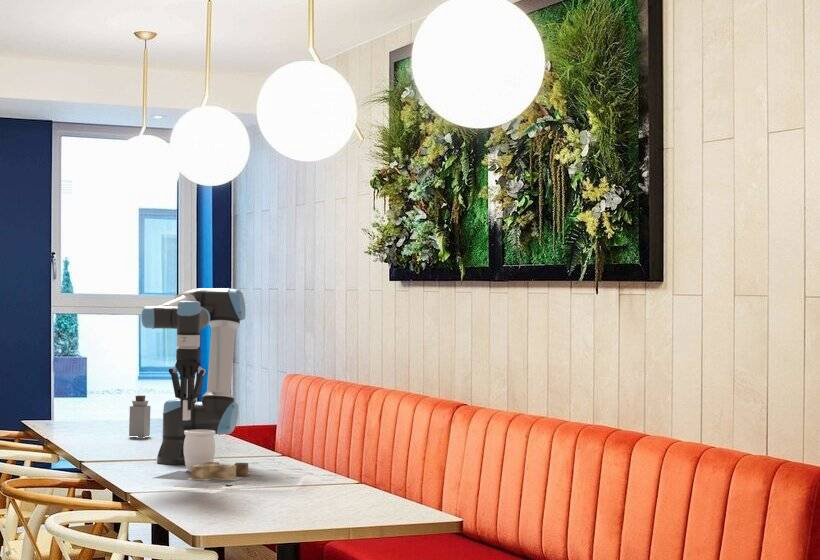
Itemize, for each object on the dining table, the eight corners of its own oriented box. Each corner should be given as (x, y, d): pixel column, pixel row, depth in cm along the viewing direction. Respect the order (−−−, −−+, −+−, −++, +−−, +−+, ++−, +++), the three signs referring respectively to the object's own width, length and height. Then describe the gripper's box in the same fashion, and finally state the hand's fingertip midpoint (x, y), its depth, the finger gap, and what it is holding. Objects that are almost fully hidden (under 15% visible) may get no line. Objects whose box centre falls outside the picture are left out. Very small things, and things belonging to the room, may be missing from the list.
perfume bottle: (134, 436, 488) (136, 394, 488) (149, 436, 487) (150, 395, 487) (128, 437, 481) (130, 396, 482) (143, 438, 480) (144, 396, 481)
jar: (176, 476, 375) (177, 431, 375) (193, 472, 384) (194, 428, 385) (204, 478, 371) (205, 432, 371) (220, 474, 380) (221, 430, 381)
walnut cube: (234, 476, 365) (234, 464, 365) (236, 474, 369) (236, 462, 369) (246, 476, 365) (246, 464, 365) (248, 475, 369) (248, 462, 369)
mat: (152, 481, 358) (152, 477, 358) (178, 474, 375) (178, 470, 375) (229, 486, 351) (229, 482, 351) (252, 478, 368) (252, 475, 368)
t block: (191, 478, 358) (191, 466, 358) (207, 473, 369) (208, 461, 369) (225, 481, 354) (225, 468, 354) (241, 476, 366) (241, 463, 366)
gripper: (164, 347, 364) (163, 420, 364) (201, 348, 361) (199, 421, 360) (175, 347, 372) (173, 417, 371) (211, 348, 368) (209, 419, 368)
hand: (186, 419), depth 366 cm, fingers closed
